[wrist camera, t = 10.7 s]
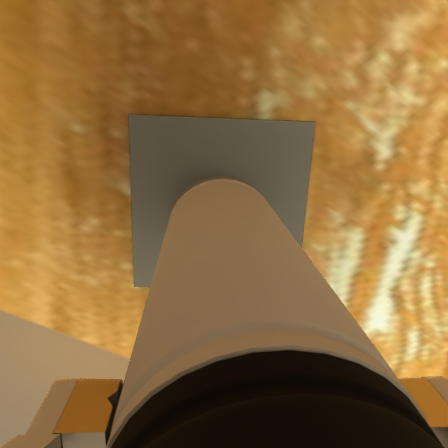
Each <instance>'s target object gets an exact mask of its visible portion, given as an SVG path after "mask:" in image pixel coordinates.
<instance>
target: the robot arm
mask: <svg viewBox="0 0 448 448" xmlns="http://www.w3.org/2000/svg"><path fill="white" fill-rule="evenodd" d="M398 379H399V380H400V381H401V382H402V384H403V385H404V386H405V388H406V389H407V390H408V392H409V393H410V395H411V396H412V397H413V399H414V400H415V402H416V403H417V405H418V406H419V407H420V409H421V410H422V412H423V413H424V415H425V416H426V419H427V422H428V424H429V426H430V428H431V429H432V431H433V432H434V433H435V435H436V436H437V438H438V439H439V440H440V442H441V443H442V446H444V447H445V448H448V380H447V379H445V378H444V377H442V376H436V377H421V378H419V377H418V378H398ZM122 387H123V381H122V380H121V379H57V380H56V381H55V382H53V384H52V386H51V387H50V390H49V391H48V393H47V395H46V397H45V399H44V401H43V403H42V404H41V406H40V408H39V410H38V412H37V414H36V416H35V418H34V419H33V421H32V423H31V425H30V427H29V429H28V431H27V433H26V434H25V435H18V436H16V437H15V438H13V439H12V440H11V441H9V442H8V443H6V444H5V445H4V446H2V447H1V448H106V446H107V443H108V441H109V438H110V433H111V427H112V423H113V419H114V416H115V412H116V409H117V405H118V401H119V398H120V394H121V391H122Z"/></svg>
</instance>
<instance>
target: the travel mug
mask: <svg viewBox="0 0 448 448" xmlns="http://www.w3.org/2000/svg"><path fill="white" fill-rule="evenodd" d="M106 448H445V447H444V446H442V443H441V442H440V440H439V439H438V438H437V436H436V435H435V433H434V432H433V431H432V429H431V428H430V426H429V424H428V422H427V419H426V416H425V415H424V413H423V412H422V410H421V409H420V407H419V406H418V405H417V403H416V402H415V400H414V399H413V397H412V396H411V395H410V393H409V392H408V390H407V389H406V388H405V386H404V385H403V384H402V382H401V381H400V380H399V379H398V378H397V376H396V375H395V374H394V372H393V371H392V369H391V368H390V366H389V365H388V364H387V362H386V361H385V360H384V358H383V357H382V355H381V354H380V353H379V351H378V350H377V349H376V347H375V346H374V345H373V343H372V342H371V341H370V339H369V338H368V337H367V335H366V334H365V333H364V331H363V330H362V329H361V327H360V326H359V325H358V323H357V322H356V320H355V319H354V318H353V316H352V315H351V314H350V312H349V311H348V310H347V308H346V307H345V306H344V304H343V303H342V302H341V300H340V299H339V298H338V296H337V295H336V294H335V292H334V291H333V290H332V288H331V287H330V285H329V284H328V283H327V281H326V280H325V279H324V277H323V276H322V275H321V273H320V272H319V271H318V269H317V268H316V267H315V265H314V264H313V263H312V261H311V260H310V259H309V257H308V256H307V255H306V253H305V252H304V250H303V249H302V248H301V246H300V245H299V244H298V242H297V241H296V240H295V238H294V237H293V236H292V234H291V233H290V232H289V230H288V229H287V228H286V226H285V225H284V224H283V222H282V221H281V220H280V218H279V217H278V215H277V214H276V213H275V211H274V210H273V209H272V207H271V206H270V205H269V203H268V202H267V201H266V199H265V198H264V197H263V195H262V194H261V193H260V192H259V191H258V190H257V189H256V188H255V187H254V186H252V185H250V184H249V183H247V182H245V181H243V180H240V179H237V178H234V177H227V176H217V177H211V178H206V179H203V180H201V181H199V182H197V183H194V184H193V185H192V186H190V187H189V188H187V189H186V190H185V191H184V192H183V193H182V194H181V195H180V197H179V198H178V199H177V201H176V203H175V204H174V206H173V209H172V211H171V214H170V218H169V221H168V225H167V228H166V232H165V236H164V239H163V243H162V246H161V250H160V254H159V257H158V261H157V264H156V268H155V272H154V275H153V279H152V282H151V286H150V290H149V293H148V297H147V301H146V304H145V308H144V311H143V315H142V319H141V322H140V326H139V329H138V333H137V337H136V340H135V344H134V347H133V351H132V355H131V358H130V362H129V365H128V369H127V373H126V376H125V380H124V383H123V387H122V391H121V394H120V398H119V401H118V405H117V409H116V412H115V416H114V419H113V423H112V427H111V433H110V438H109V441H108V443H107V446H106Z"/></svg>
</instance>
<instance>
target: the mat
mask: <svg viewBox="0 0 448 448" xmlns="http://www.w3.org/2000/svg"><path fill="white" fill-rule="evenodd" d="M315 123H316V122H305V121H281V120H257V119H233V118H208V117H184V116H160V115H136V114H129V145H130V176H131V207H132V238H133V269H134V287H150V286H151V282H152V279H153V275H154V272H155V268H156V264H157V261H158V257H159V254H160V250H161V246H162V243H163V239H164V236H165V232H166V228H167V225H168V221H169V218H170V214H171V211H172V209H173V206H174V204H175V203H176V201H177V199H178V198H179V197H180V195H181V194H182V193H183V192H184V191H185V190H186V189H187V188H189V187H190V186H192V185H193V184H194V183H197V182H199V181H201V180H203V179H206V178H211V177H217V176H227V177H234V178H237V179H240V180H243V181H245V182H247V183H249V184H250V185H252V186H254V187H255V188H256V189H257V190H258V191H259V192H260V193H261V194H262V195H263V197H264V198H265V199H266V201H267V202H268V203H269V205H270V206H271V207H272V209H273V210H274V211H275V213H276V214H277V215H278V217H279V218H280V220H281V221H282V222H283V224H284V225H285V226H286V228H287V229H288V230H289V232H290V233H291V234H292V236H293V237H294V238H295V240H296V241H297V242H298V244H299V245H300V246H301V248H302V241H303V232H304V223H305V214H306V205H307V195H308V186H309V177H310V168H311V159H312V150H313V141H314V132H315Z"/></svg>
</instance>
